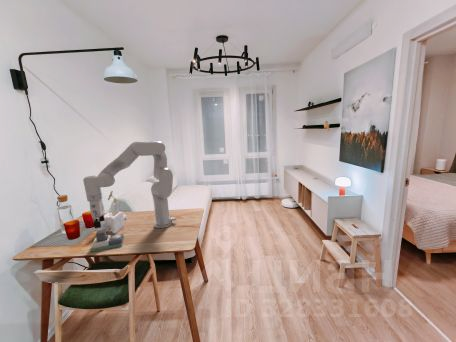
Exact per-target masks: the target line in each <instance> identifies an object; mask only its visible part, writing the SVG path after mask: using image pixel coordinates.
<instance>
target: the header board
mask: <svg viewBox="0 0 456 342" xmlns="http://www.w3.org/2000/svg"><path fill="white" fill-rule="evenodd" d="M107 238H108V239H107V241H101V242H97V239H96V237H95V238H94V240H93V242H92V248H91V250H90V252H91V253H95V251H96V252H100V251H99V250H101V251H105V250H104V249H106V250H110V248H111V249H116V248H120V247H123V244H124V243H123V242H124V240H125V235H124V233H119V234H114V235H111V234H110V235H109V234H107Z"/></svg>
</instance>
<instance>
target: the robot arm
mask: <svg viewBox="0 0 456 342" xmlns="http://www.w3.org/2000/svg"><path fill="white" fill-rule="evenodd" d="M139 156H141V157H143V156H146V157H148V156H152V157H153V161H154V162H153V163H154V164H153V178H155V180H157V181H156V182H154V183H153V184H151V187H150V192H151V196H152V199H153V207H154V208H153V209H154V216H155V222H154V225H153V226H154V227H155V228H157V229H164V228H168V227H170V226H172V225H173V222H174V221H175V222H176V221H177V218H176V217H174V216H172V217H171V215H170V210H169V201H168V200H169V199H168V198H169V197H170V196H171V194H172V192H173V182H174V181H173V180H174V175H173V172H172V170H171V169H170V168H168V158H167V154H166V146H165V144H164V143H163V142H162V141H156V140H155V141H154V140H152V141H134V142H132V143H131V144H129V145H128V146H127V147H126V148H125V150H124V151H122V152H121V153H120V155H118V157H116V158H114V160H112V161H111V162H110V163H109V164H107V165H106V166H105V167H104V168H103V169H102V170H101V171H100V172H99V174H97V175H88V176H85V177H84V178H83V186H84V191H85V195H86V201H87V203H88V202H89V209H90V215H91V217H92V222H93V227H94V229H98V228H100V227H101V223H100V222H101V221H104V220H105V219H104V215H105V214H104V213H105V206H104V203H103V193H102V190H101V188H108V187H112V186H113V185H114V184H115V182H116V179H115V176H116V175H117V174H118V173H119V172H121V171H122V170H126V169H127V168H129V167H130V166H131V165H132V164H133V163H134V162H135V161H136V160H137V159H138V158H139Z"/></svg>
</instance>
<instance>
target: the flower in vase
mask: <svg viewBox="0 0 456 342" xmlns="http://www.w3.org/2000/svg"><path fill="white" fill-rule="evenodd" d="M113 192H114V191H113V190H110V193H109V195H108V198H107V201H110V199H112V198H113V203H112V205H113V207H114V209H115V212H114V214H112V216H115V215H116V214H118V213H119V212H120V210H119V209H120V208H119V205H120V202H119V201H118V199H117V198H116V197H114V195H113ZM123 215H124V220H126V218H127V215H126V214H125V213H123Z"/></svg>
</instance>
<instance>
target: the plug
mask: <svg viewBox="0 0 456 342" xmlns="http://www.w3.org/2000/svg"><path fill="white" fill-rule="evenodd" d="M107 236H108V234H107V232H106V229H104V230H99V229H98V230H97V231H96V233H95V238H96V239H97V242H101V241H107V239H108V238H107Z"/></svg>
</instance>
